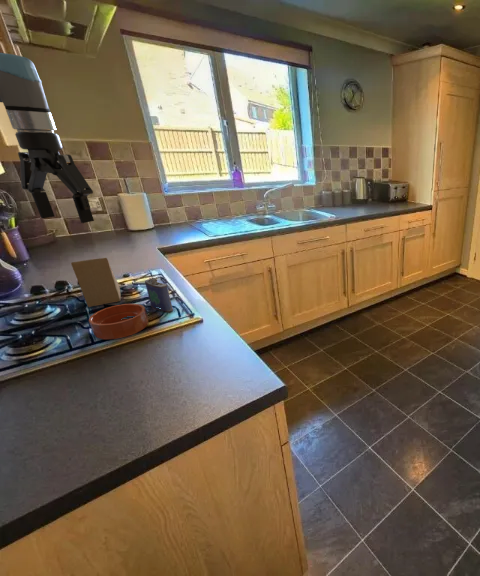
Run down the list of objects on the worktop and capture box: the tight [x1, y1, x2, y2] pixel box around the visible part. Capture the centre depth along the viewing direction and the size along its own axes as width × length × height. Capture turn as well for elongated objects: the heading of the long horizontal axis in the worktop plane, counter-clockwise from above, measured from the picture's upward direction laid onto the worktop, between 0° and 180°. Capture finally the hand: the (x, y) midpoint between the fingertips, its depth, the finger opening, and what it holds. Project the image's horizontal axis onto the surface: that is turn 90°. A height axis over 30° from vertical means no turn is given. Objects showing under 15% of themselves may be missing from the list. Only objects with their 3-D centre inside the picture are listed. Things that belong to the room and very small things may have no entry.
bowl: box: [88, 303, 150, 341], centre depth 91 cm, size 12×12×5 cm
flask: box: [144, 276, 174, 314], centre depth 101 cm, size 9×3×11 cm, turn 63°
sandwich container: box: [70, 257, 121, 308], centre depth 107 cm, size 9×15×15 cm, turn 37°
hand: (67, 219), depth 87 cm, fingers open, 13 cm apart
